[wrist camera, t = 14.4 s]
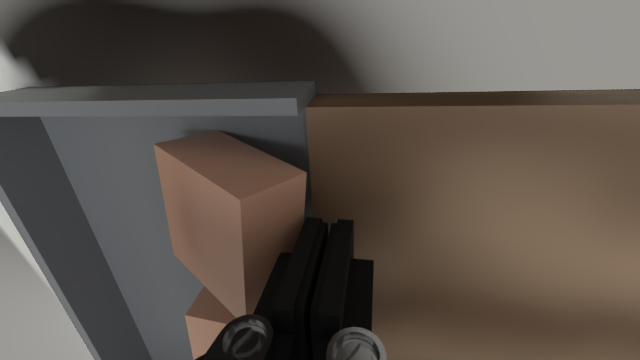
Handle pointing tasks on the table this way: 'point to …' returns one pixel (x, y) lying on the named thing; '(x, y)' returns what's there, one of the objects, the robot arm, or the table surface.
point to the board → (489, 218)
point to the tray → (127, 195)
